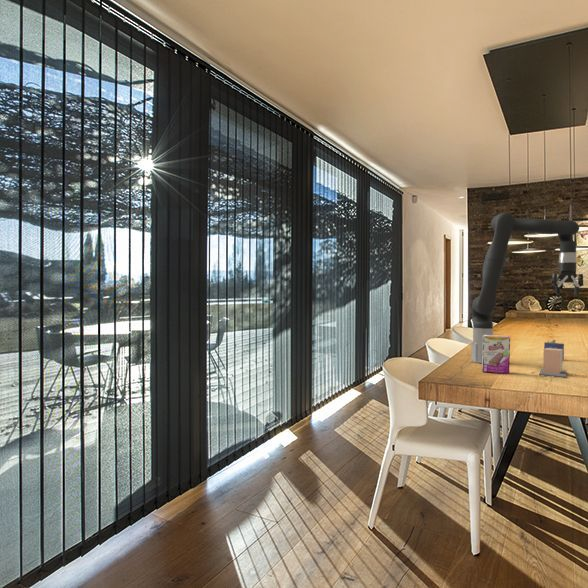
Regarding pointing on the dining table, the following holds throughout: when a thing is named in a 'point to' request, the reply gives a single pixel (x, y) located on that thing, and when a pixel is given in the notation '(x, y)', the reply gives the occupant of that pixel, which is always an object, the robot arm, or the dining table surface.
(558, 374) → the rubber mat
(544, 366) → the pinkish tan block
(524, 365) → the dining table surface
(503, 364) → the candy bar box
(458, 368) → the dining table surface
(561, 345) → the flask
